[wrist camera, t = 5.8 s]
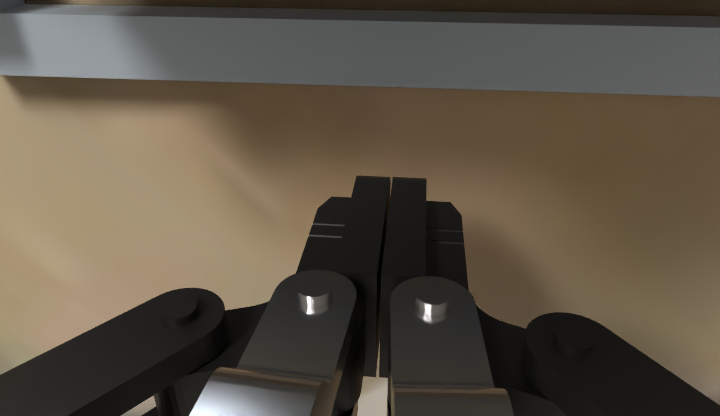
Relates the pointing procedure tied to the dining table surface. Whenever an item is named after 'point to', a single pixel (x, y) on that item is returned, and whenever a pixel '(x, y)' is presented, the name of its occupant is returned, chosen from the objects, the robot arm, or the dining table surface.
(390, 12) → the vise body
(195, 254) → the dining table surface
